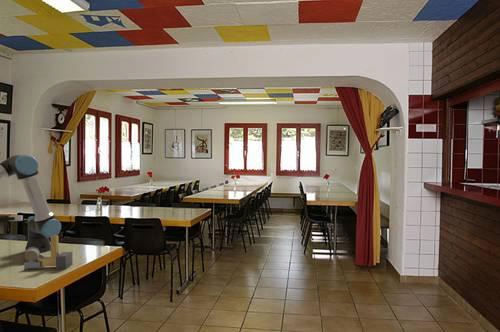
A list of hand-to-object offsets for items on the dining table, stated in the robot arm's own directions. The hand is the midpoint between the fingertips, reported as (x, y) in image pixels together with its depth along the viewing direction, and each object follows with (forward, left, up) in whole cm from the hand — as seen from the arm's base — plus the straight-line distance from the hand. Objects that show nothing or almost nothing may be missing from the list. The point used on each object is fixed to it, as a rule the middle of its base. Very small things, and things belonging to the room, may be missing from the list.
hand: (21, 218), depth 211 cm
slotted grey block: (0, +22, -28) cm, 35 cm away
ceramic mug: (-17, -1, -28) cm, 33 cm away
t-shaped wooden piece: (0, +16, -26) cm, 31 cm away
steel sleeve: (0, +6, -28) cm, 28 cm away
